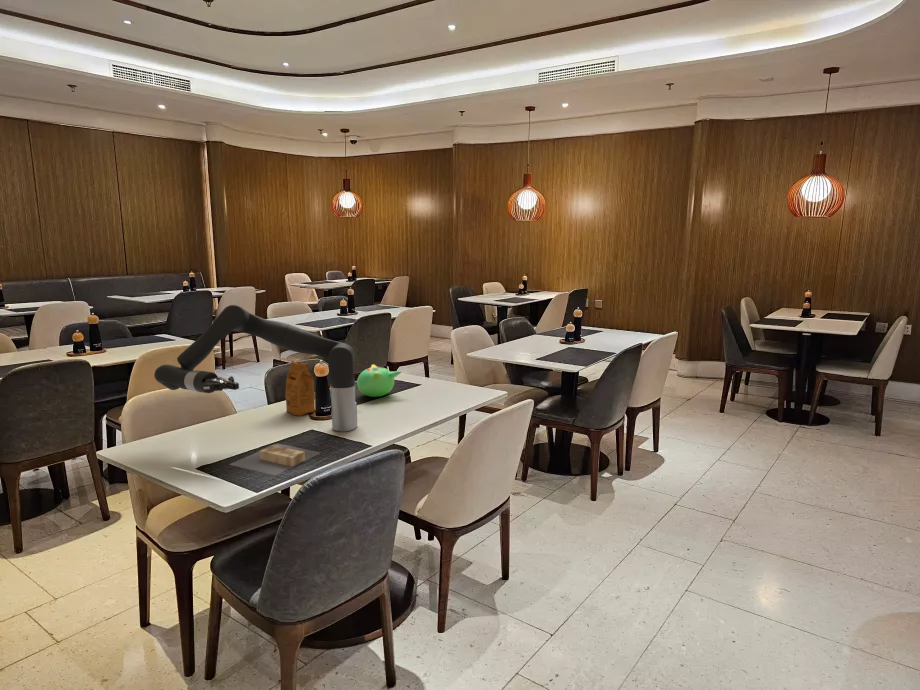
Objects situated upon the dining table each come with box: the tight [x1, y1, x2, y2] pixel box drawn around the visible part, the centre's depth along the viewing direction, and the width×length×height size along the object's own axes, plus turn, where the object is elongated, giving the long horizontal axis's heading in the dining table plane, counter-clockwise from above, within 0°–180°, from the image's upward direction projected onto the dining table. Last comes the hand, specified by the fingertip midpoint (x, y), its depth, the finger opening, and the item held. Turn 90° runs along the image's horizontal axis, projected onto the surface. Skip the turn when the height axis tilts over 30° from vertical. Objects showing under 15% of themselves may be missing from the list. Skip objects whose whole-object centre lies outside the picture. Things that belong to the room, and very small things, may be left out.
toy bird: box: [356, 364, 402, 398], centre depth 271 cm, size 18×17×15 cm
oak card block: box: [259, 444, 305, 467], centre depth 192 cm, size 6×3×14 cm
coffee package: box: [285, 359, 316, 417], centre depth 245 cm, size 10×12×22 cm
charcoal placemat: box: [228, 443, 322, 476], centre depth 193 cm, size 22×20×1 cm
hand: (237, 386), depth 196 cm, fingers closed
